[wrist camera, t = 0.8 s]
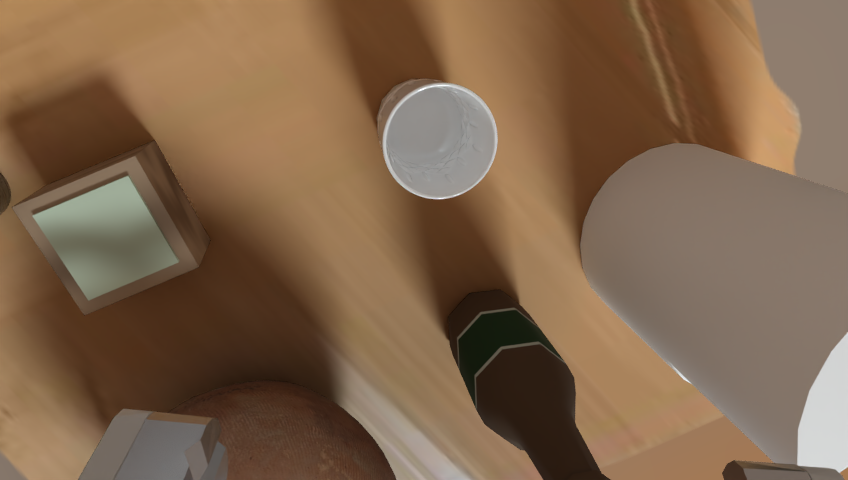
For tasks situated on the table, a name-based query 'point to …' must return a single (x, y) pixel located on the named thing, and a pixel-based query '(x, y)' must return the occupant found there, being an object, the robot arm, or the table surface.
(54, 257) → the stand block
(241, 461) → the pottery
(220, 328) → the table surface
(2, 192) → the grey cylindrical bottle
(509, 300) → the beer bottle
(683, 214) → the cylinder
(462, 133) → the white cup
